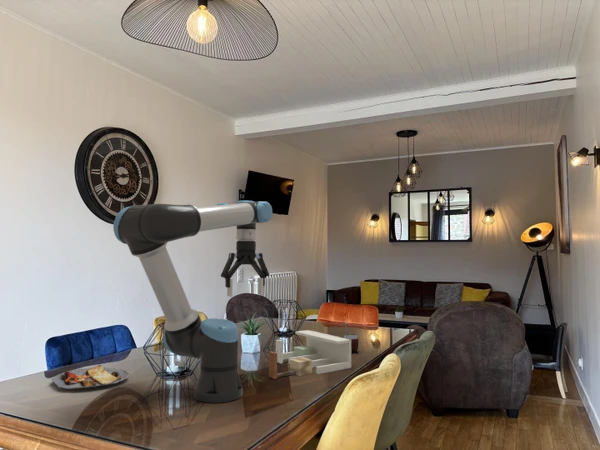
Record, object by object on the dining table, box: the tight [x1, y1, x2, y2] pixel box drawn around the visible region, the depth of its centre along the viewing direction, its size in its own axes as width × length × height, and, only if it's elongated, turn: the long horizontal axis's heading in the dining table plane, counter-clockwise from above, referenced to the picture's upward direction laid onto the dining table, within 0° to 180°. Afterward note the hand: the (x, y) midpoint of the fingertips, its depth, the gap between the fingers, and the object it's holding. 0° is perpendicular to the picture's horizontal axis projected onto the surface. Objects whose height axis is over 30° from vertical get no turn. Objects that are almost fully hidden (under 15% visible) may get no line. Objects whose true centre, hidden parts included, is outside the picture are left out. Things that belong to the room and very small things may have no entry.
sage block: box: [275, 339, 313, 364], centre depth 195 cm, size 16×6×9 cm, turn 127°
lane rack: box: [283, 329, 352, 375], centre depth 190 cm, size 17×28×11 cm, turn 37°
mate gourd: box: [342, 320, 359, 355], centre depth 212 cm, size 8×8×15 cm
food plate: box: [51, 364, 130, 390], centre depth 161 cm, size 25×23×4 cm
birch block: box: [268, 351, 313, 380], centre depth 172 cm, size 16×6×9 cm, turn 127°
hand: (245, 295), depth 179 cm, fingers open, 13 cm apart
